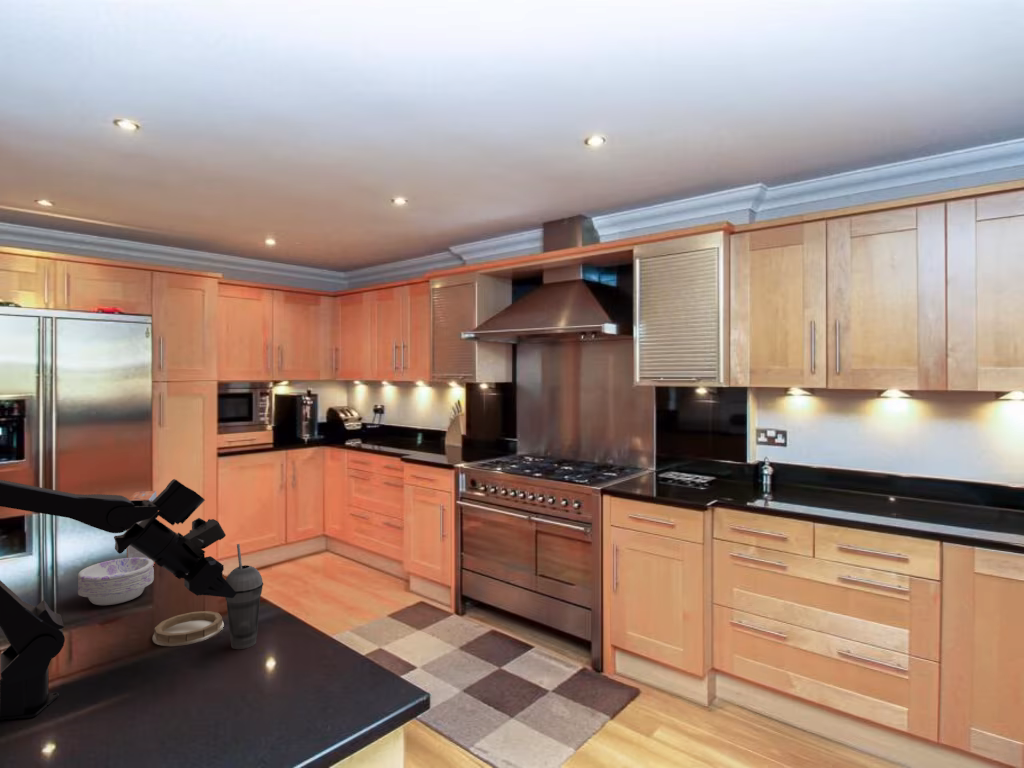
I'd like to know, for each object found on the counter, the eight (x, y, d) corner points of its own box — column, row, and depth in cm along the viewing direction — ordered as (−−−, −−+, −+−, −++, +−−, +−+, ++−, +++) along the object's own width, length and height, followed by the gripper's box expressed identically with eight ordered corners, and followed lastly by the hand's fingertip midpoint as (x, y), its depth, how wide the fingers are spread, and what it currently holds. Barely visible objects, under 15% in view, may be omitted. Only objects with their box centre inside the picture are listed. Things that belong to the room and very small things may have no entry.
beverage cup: (247, 654, 109) (247, 550, 109) (214, 650, 111) (214, 548, 111) (271, 637, 116) (270, 540, 116) (239, 634, 118) (239, 538, 118)
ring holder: (211, 643, 114) (211, 633, 114) (140, 648, 112) (140, 638, 112) (232, 617, 127) (232, 608, 127) (168, 621, 124) (168, 612, 124)
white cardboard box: (134, 562, 167) (134, 491, 167) (158, 559, 169) (157, 489, 170) (124, 576, 154) (124, 500, 154) (150, 573, 157) (150, 498, 157)
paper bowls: (75, 616, 128) (74, 581, 128) (80, 595, 141) (80, 563, 141) (154, 601, 136) (154, 568, 136) (153, 583, 149) (153, 553, 149)
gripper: (210, 516, 101) (273, 564, 108) (183, 501, 115) (241, 544, 122) (159, 571, 96) (230, 617, 103) (138, 548, 109) (202, 590, 117)
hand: (227, 589), depth 111 cm, fingers open, 9 cm apart
